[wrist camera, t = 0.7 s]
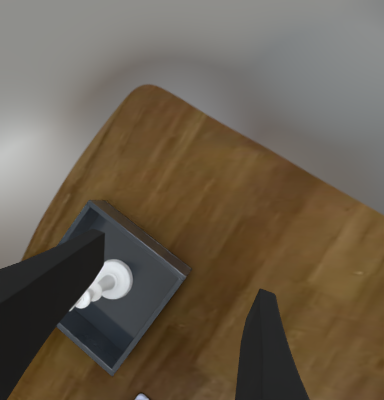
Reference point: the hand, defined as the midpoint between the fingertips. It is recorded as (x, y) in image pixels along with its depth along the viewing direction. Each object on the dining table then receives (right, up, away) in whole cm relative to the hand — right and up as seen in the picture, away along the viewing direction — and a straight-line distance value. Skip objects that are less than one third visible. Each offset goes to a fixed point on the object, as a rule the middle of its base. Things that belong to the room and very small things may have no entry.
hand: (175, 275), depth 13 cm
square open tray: (-9, -7, +24) cm, 27 cm away
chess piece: (-9, -7, +24) cm, 27 cm away
